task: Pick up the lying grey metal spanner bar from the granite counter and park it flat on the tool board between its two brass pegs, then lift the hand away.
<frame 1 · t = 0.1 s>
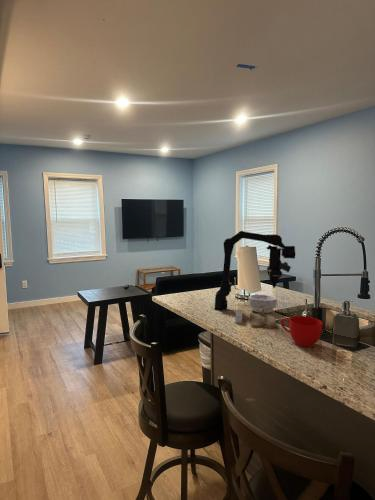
hand: (273, 286, 185), 15 cm above the table, fingers open, 9 cm apart
paper bowls: (261, 311, 188), on the table
ceramic cup: (299, 343, 141), on the table
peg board: (262, 321, 168), on the table
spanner: (238, 320, 170), on the table
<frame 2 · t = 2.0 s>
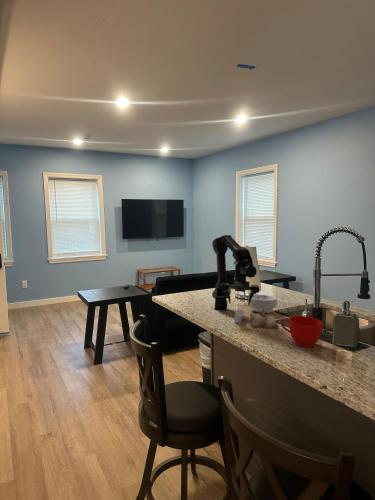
hand: (239, 304, 169), 8 cm above the table, fingers open, 9 cm apart
nothing on the table moved.
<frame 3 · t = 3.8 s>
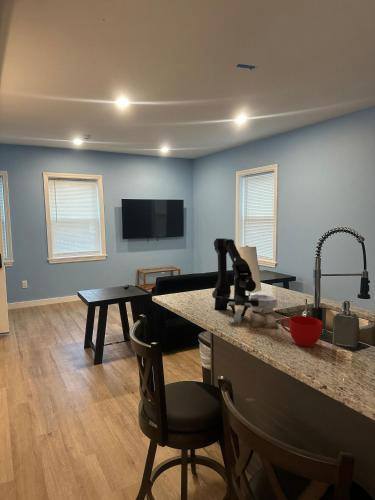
hand: (238, 318, 170), 1 cm above the table, fingers closed on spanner, 3 cm apart
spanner: (238, 320, 170), on the table, touching gripper
everything else where it was.
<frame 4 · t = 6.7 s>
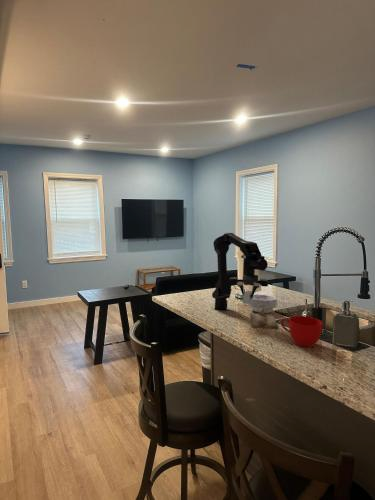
hand: (247, 298, 168), 11 cm above the table, fingers closed on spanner, 3 cm apart
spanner: (247, 300, 168), point 10 cm above the table, touching gripper
everything else where it was.
when the fingers open (4 cm above the table, at t = 9.4 s): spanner drops 1 cm, resting on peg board.
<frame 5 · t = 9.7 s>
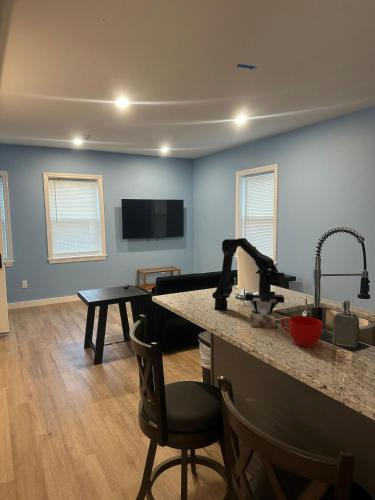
hand: (263, 314, 168), 4 cm above the table, fingers open, 6 cm apart
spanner: (263, 319, 168), point 1 cm above the table, touching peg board
everything else where it was.
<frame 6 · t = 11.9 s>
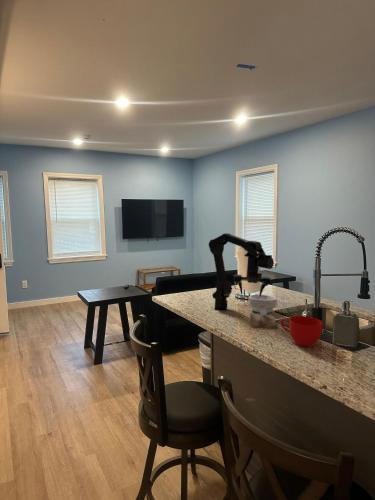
hand: (250, 295, 175), 11 cm above the table, fingers open, 9 cm apart
nothing on the table moved.
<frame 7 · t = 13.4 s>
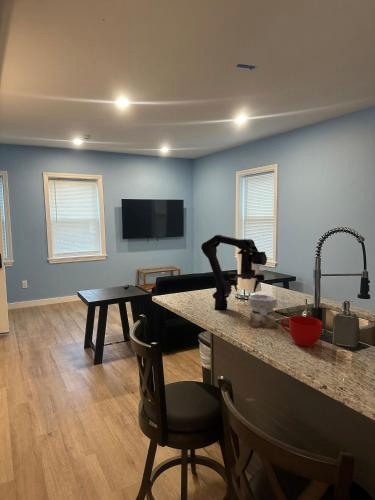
hand: (245, 292, 179), 12 cm above the table, fingers open, 9 cm apart
nothing on the table moved.
at the end: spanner 0.0 cm off-centre on the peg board, point 1.2 cm above the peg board's base; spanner tilted 0°; the gripper is holding nothing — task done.
